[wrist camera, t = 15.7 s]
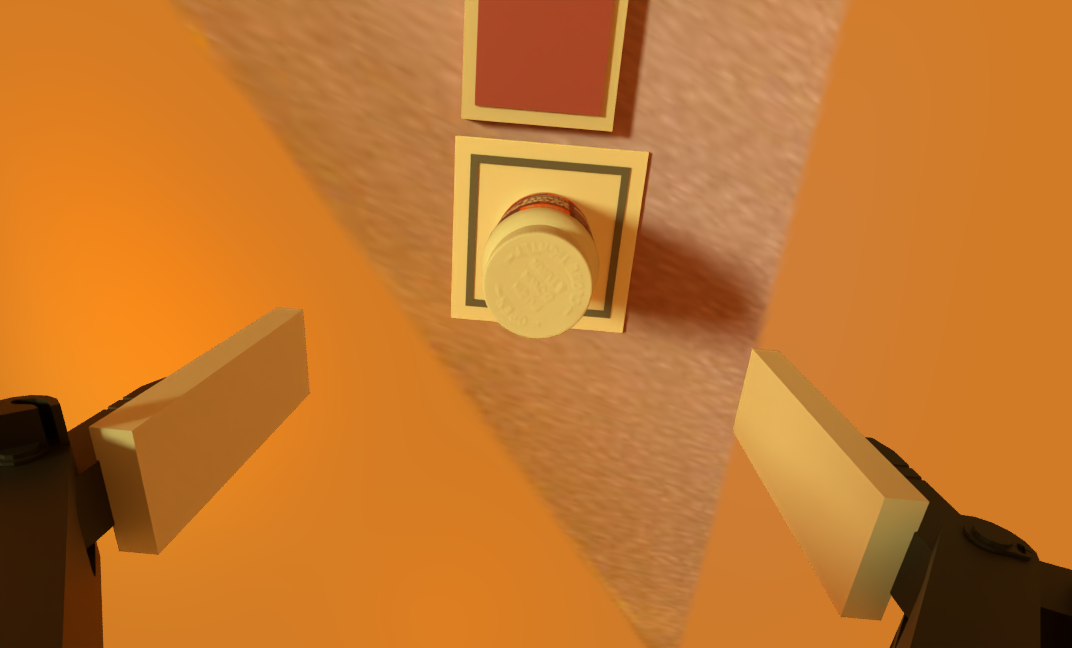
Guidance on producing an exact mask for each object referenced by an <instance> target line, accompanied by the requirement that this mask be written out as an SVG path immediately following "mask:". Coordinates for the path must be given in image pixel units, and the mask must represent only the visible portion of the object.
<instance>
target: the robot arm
mask: <svg viewBox="0 0 1072 648" xmlns="http://www.w3.org/2000/svg"><path fill="white" fill-rule="evenodd" d="M309 393H310V392H309V379H308V366H307V353H306V342H305V328H304V316H303V310H302V309H290V308H279V307H277V308H275V309H274V310H272V311H270V312H269V313H267V314H266V315H264V316H263V317H261V318H259V319H258V320H256V321H255V322H253V323H252V324H250V325H248V326H247V327H245V328H244V329H242V330H240V331H239V332H237V333H236V334H234V335H233V336H231V337H230V338H228V339H227V340H225V341H223V342H222V343H220V344H218V345H217V346H215V347H214V348H212V349H211V350H209V351H208V352H206V353H204V354H203V355H201V356H200V357H198V358H196V359H195V360H193V361H192V362H190V363H189V364H187V365H185V366H184V367H182V368H181V369H179V370H177V371H176V372H174V373H173V374H171V375H170V376H168V377H165V378H163V379H160V380H157V381H154V382H152V383H149V384H146V385H144V386H141V387H140V388H138V389H136V390H135V391H133V392H132V393H130V394H129V395H127V396H125V397H123V400H119V401H117V402H115V403H114V404H112V405H110V406H109V407H108V409H107V410H102V411H101V412H99V413H98V414H96V415H94V416H93V417H91V418H89V419H88V420H86V421H85V422H83V423H81V424H80V425H78V426H77V427H75V428H73V429H72V430H70V431H68V432H67V429H66V425H65V421H64V418H63V414H62V410H61V406H60V404H59V402H58V400H57V399H56V398H53V397H50V396H42V395H29V396H20V397H12V398H8V399H4V400H0V648H103V626H102V598H101V597H102V596H101V570H100V569H101V567H100V554H99V550H98V547H97V543H96V541H97V540H98V539H99V538H100V537H101V536H102V535H104V534H105V533H106V532H107V531H108V530H109V529H110V528H111V527H113V528H114V532H115V536H116V540H117V544H118V548H119V551H124V552H136V553H146V554H157V555H158V554H159V553H160V552H161V551H162V550H163V549H164V548H165V547H166V546H167V545H168V544H169V543H170V542H171V541H172V540H173V539H174V538H175V537H176V535H177V534H178V533H179V532H180V531H181V530H182V529H183V528H184V527H185V526H186V525H187V524H188V523H189V522H190V521H191V519H192V518H193V517H194V516H195V515H196V514H197V513H198V512H199V511H200V510H201V509H202V508H203V507H204V506H205V504H206V503H207V502H208V501H209V500H210V499H211V498H212V497H213V496H214V495H215V494H216V493H217V491H219V490H220V488H221V487H222V486H223V485H224V484H225V483H226V482H227V481H228V480H229V479H230V478H231V477H232V476H233V475H234V473H236V471H237V470H238V469H239V468H240V467H241V466H242V465H243V464H244V463H245V462H246V461H247V460H248V459H249V458H250V457H251V455H252V454H253V453H254V452H255V451H256V450H257V449H258V448H259V447H260V446H261V445H262V444H263V443H264V442H265V440H266V439H267V438H268V437H269V436H270V435H271V434H272V433H273V432H274V431H275V430H276V429H277V428H278V427H279V426H280V425H281V424H282V422H283V421H284V420H285V419H286V418H287V417H288V416H289V415H290V414H291V413H292V412H293V411H294V410H295V409H296V408H297V406H298V405H299V404H300V403H301V402H302V401H303V400H304V399H305V398H306V397H307V396H308V395H309ZM733 432H734V434H735V436H736V437H737V439H738V441H739V443H740V444H741V446H742V448H743V449H744V451H745V453H746V455H747V456H748V458H749V460H750V461H751V463H752V465H753V466H754V468H755V470H756V472H757V473H758V475H759V477H760V479H761V480H762V482H763V484H764V486H765V487H766V489H767V490H768V493H769V494H770V496H771V498H772V499H773V501H774V503H775V505H776V506H777V508H778V510H779V511H780V513H781V515H782V517H783V518H784V520H785V522H786V523H787V525H788V527H789V529H790V530H791V532H792V533H793V535H794V537H795V539H796V541H797V542H798V544H799V546H800V548H801V549H802V551H803V553H804V554H805V556H806V558H807V560H808V561H809V563H810V565H811V567H812V568H813V570H814V572H815V573H816V575H817V577H818V578H819V580H820V582H821V584H822V586H823V587H824V589H825V591H826V592H827V594H828V596H829V598H830V599H831V601H832V603H833V604H834V606H835V608H836V609H837V611H838V613H839V615H840V616H841V617H849V618H860V619H872V620H881V619H882V617H883V614H884V612H885V609H886V607H887V604H888V602H889V599H890V597H891V595H892V597H893V598H894V600H895V601H896V602H897V604H898V605H899V607H900V608H901V609H902V611H903V612H904V616H903V618H902V621H901V623H900V626H899V628H898V630H897V632H896V634H895V637H894V639H893V642H892V644H891V646H890V648H1072V570H1070V569H1066V568H1063V567H1059V566H1055V565H1052V564H1049V563H1045V562H1042V561H1039V558H1038V556H1037V553H1036V552H1035V551H1034V550H1033V549H1032V548H1031V547H1030V546H1029V545H1028V544H1027V543H1026V542H1025V541H1023V540H1022V539H1020V538H1019V537H1017V536H1016V535H1014V534H1013V533H1012V532H1010V531H1008V530H1006V529H1004V528H1002V527H1000V526H998V525H995V524H994V523H991V522H988V521H985V520H982V519H979V518H976V517H972V516H965V515H960V514H959V513H958V512H957V511H956V510H955V509H954V508H953V507H952V506H951V505H950V504H949V503H948V502H947V501H946V500H944V499H943V498H942V497H941V496H940V495H939V494H938V493H937V492H936V491H935V490H934V489H933V488H932V487H931V486H930V485H929V484H928V483H926V481H924V480H921V477H920V476H919V475H918V474H917V473H916V472H915V471H914V470H913V469H912V468H909V466H908V464H907V463H906V462H905V461H904V460H903V459H902V458H901V457H899V456H898V455H897V454H896V453H895V452H894V451H893V450H891V449H890V448H888V447H886V446H885V445H883V444H881V443H879V442H878V441H876V440H875V439H873V438H867V437H864V436H863V435H862V434H861V433H860V432H859V431H858V430H857V429H856V428H855V427H854V426H853V425H852V424H851V423H850V422H849V421H848V420H847V419H846V418H845V417H844V416H843V415H842V414H841V413H840V412H839V411H838V410H837V409H836V408H835V407H834V406H833V405H832V404H831V403H830V402H829V401H828V400H827V399H826V398H825V397H824V396H823V395H822V394H821V393H820V392H819V391H818V390H817V389H816V388H815V387H814V386H813V385H812V384H811V383H810V382H809V381H808V380H807V379H806V378H805V377H804V376H803V375H802V374H801V373H800V372H799V371H798V370H797V369H796V368H795V367H794V366H793V365H792V364H791V363H790V362H789V361H788V360H787V359H786V358H785V357H784V356H783V355H782V354H781V353H780V352H779V351H775V350H763V349H752V352H751V356H750V360H749V364H748V369H747V373H746V377H745V381H744V385H743V390H742V394H741V398H740V402H739V406H738V411H737V415H736V419H735V423H734V427H733Z"/></svg>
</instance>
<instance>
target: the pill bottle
mask: <svg viewBox="0 0 1072 648" xmlns="http://www.w3.org/2000/svg"><path fill="white" fill-rule="evenodd" d="M598 275H599V256H598V253H597V248H596V245H595V242H594V239H593V236H592V232H591V229H590V226H589V223H588V221H587V219H586V217H585V215H584V214H583V212H582V211H581V210H580V208H579V207H578V206H577V205H576V204H575V203H573V202H572V201H571V200H569V199H568V198H566V197H564V196H561V195H559V194H555V193H550V192H539V193H533V194H529V195H527V196H524V197H522V198H521V199H519V200H517V201H516V202H515V203H513V204H512V205H511V206H510V207H509V208H508V209H507V211H506V212H505V213H504V215H503V216H502V218H501V220H500V221H499V223H498V224H497V226H496V227H495V229H494V230H493V231H492V233H491V234H490V236H489V238H488V240H487V242H486V245H485V247H484V251H483V256H482V276H483V282H482V287H483V295H484V299H485V302H486V305H487V307H488V309H489V311H490V312H491V314H492V316H493V317H494V318H495V319H496V320H497V322H498V323H500V324H501V325H502V326H503V327H504V328H506V329H507V330H509V331H511V332H513V333H515V334H517V335H520V336H523V337H527V338H535V339H541V338H549V337H553V336H556V335H559V334H562V333H563V332H565V331H567V330H569V329H570V328H572V327H573V326H574V325H575V324H576V323H577V322H578V321H579V320H580V319H581V318H582V317H583V315H584V314H585V312H586V310H587V308H588V307H589V304H590V301H591V298H592V294H593V292H594V290H595V287H596V285H597V281H598Z"/></svg>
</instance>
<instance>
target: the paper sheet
mask: <svg viewBox="0 0 1072 648" xmlns="http://www.w3.org/2000/svg"><path fill="white" fill-rule="evenodd" d="M648 155H649V152H642V151H631V150H619V149H607V148H596V147H584V146H572V145H561V144H549V143H537V142H526V141H514V140H503V139H491V138H479V137H468V136H456V140H455V178H454V216H453V254H452V292H451V318H461V319H473V320H484V321H495V322H497V320H496V319H495V318H494V317H493V316H492V314H491V312H490V311H489V309H488V307H487V305H486V302H485V299H484V295H483V287H482V282H483V276H482V256H483V251H484V247H485V245H486V242H487V240H488V238H489V236H490V234H491V233H492V231H493V230H494V229H495V227H496V226H497V224H498V223H499V221H500V220H501V218H502V216H503V215H504V213H505V212H506V211H507V209H508V208H509V207H510V206H511V205H512V204H513V203H515V202H516V201H517V200H519V199H521V198H522V197H524V196H527V195H529V194H533V193H539V192H550V193H555V194H559V195H561V196H564V197H566V198H568V199H569V200H571V201H572V202H573V203H575V204H576V205H577V206H578V207H579V208H580V210H581V211H582V212H583V214H584V215H585V217H586V219H587V221H588V223H589V226H590V229H591V232H592V236H593V239H594V242H595V245H596V248H597V253H598V256H599V275H598V281H597V285H596V287H595V290H594V292H593V294H592V298H591V301H590V304H589V307H588V308H587V310H586V312H585V314H584V315H583V317H582V318H581V319H580V320H579V321H578V322H577V323H576V324H575V325H574V326H573V327H572V328H574V329H585V330H596V331H608V332H619V333H622V332H623V326H624V319H625V312H626V305H627V298H628V292H629V285H630V278H631V271H632V264H633V258H634V251H635V244H636V237H637V230H638V223H639V217H640V210H641V203H642V196H643V189H644V183H645V176H646V169H647V162H648Z"/></svg>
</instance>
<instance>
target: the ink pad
mask: <svg viewBox="0 0 1072 648" xmlns="http://www.w3.org/2000/svg"><path fill="white" fill-rule="evenodd" d="M627 7H628V0H465V15H464V48H463V82H462V116H461V119H470V120H482V121H493V122H505V123H517V124H528V125H540V126H552V127H563V128H575V129H587V130H598V131H610V132H612V130H613V121H614V113H615V105H616V97H617V89H618V81H619V72H620V64H621V56H622V48H623V40H624V32H625V23H626V15H627Z"/></svg>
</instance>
